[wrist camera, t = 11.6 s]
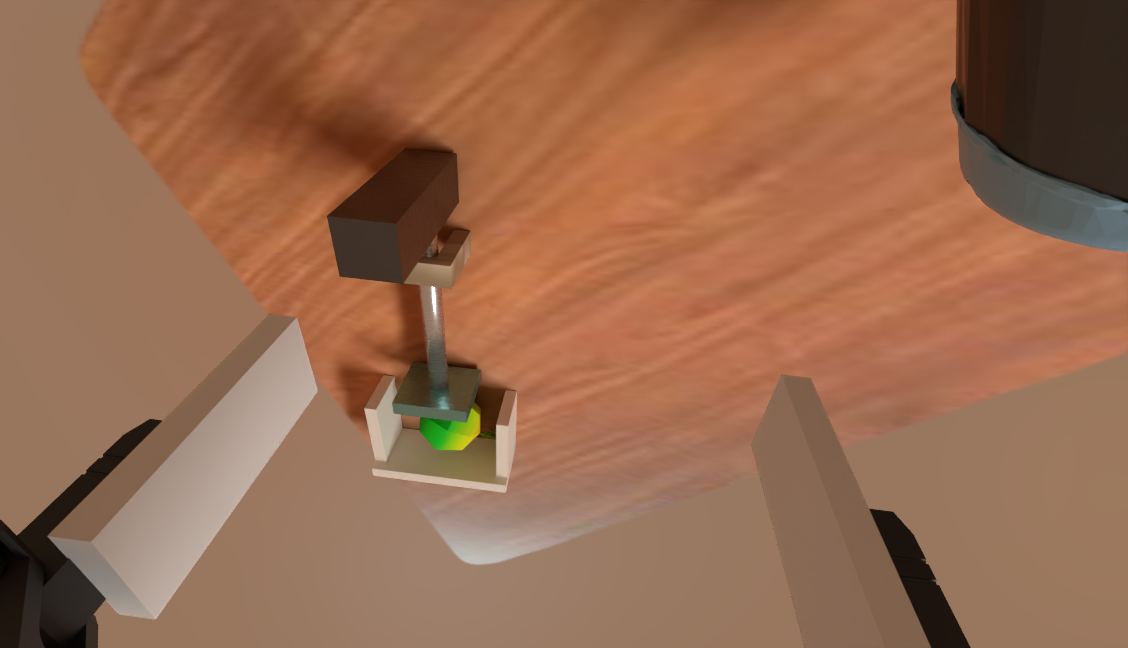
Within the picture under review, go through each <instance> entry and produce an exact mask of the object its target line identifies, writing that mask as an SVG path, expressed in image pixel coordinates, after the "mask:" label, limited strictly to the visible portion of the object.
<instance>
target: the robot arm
mask: <svg viewBox="0 0 1128 648" xmlns="http://www.w3.org/2000/svg"><path fill="white" fill-rule="evenodd" d="M951 106H952V111H953V114H954V116H955V118H956V120H957V123H958V138H959V160H960V167H961V170H962V173H963V175H964V178H965V180H966V181H967V182H968V183H969V184H970V185H971V187H972V188H973V190H974V191H975V193H976V195H977V196H978V197H979V198H980V199H981V201H982V202H983V203H984V204H985V205H987V206H988V207H989V208H991V209H992V210H994V211H995V212H997V213H998V214H1000V215H1001V216H1003V217H1004V218H1006V219H1008V220H1010V221H1012V222H1014V223H1016V224H1018V225H1020V226H1023V227H1025V228H1027V229H1030V230H1032V231H1035V232H1038V233H1040V234H1043V235H1047V236H1050V237H1053V238H1057V239H1061V240H1064V241H1068V242H1072V243H1076V244H1080V245H1085V246H1090V247H1095V248H1101V249H1107V250H1114V251H1121V252H1128V0H957V27H956V79H955V80H954V82H953V84H952V86H951ZM316 393H317V387H316V383H315V380H314V376H313V373H312V369H311V366H310V362H309V359H308V355H307V352H306V348H305V344H304V341H303V337H302V334H301V330H300V327H299V323H298V320H297V317H290V316H282V315H273V314H269V315H268V316H267V317H266V318H265V319H264V320H263V321H262V322H261V323H260V324H259V325H258V326H257V327H256V328H255V329H254V330H253V331H252V332H251V333H250V334H249V335H248V336H247V337H246V338H245V339H244V340H243V341H242V342H241V343H240V344H239V345H238V346H237V347H236V348H235V349H234V350H233V351H232V352H231V353H230V354H229V355H228V356H227V357H226V358H225V359H224V360H223V361H222V362H221V363H220V364H219V365H218V366H217V367H216V368H215V369H214V370H213V371H212V372H211V373H210V374H209V375H208V376H207V377H206V378H205V379H204V380H203V381H202V382H201V383H200V384H199V385H198V386H197V387H196V388H195V389H194V390H193V391H192V392H191V393H190V394H189V395H188V396H187V397H186V398H185V399H184V400H183V401H182V402H181V403H180V404H179V405H178V406H177V407H176V408H175V409H174V410H173V411H172V412H171V413H170V414H169V415H168V416H167V417H166V418H165V419H164V420H163V421H162V420H154V419H149V420H148V421H146V422H144V423H143V424H141V425H139V426H138V427H136V428H134V429H133V430H131V431H129V432H128V433H126V434H124V435H123V436H122V437H121V438H120V439H119V440H118V441H117V442H116V443H114V444H113V445H112V446H111V447H110V448H109V449H108V450H107V451H106V452H105V453H104V454H103V457H102V458H99V459H98V460H97V461H96V462H94V464H92V465H91V466H90V467H89V468H88V469H87V470H86V471H87V472H86V474H84V475H83V474H82V475H81V476H80V477H79V478H78V479H77V480H76V481H74V483H72V484H71V485H70V486H69V487H68V488H67V489H66V490H65V491H64V492H63V493H62V494H61V495H60V496H59V497H58V498H57V499H55V500H54V501H53V502H52V503H51V504H50V505H49V506H48V507H47V508H46V509H45V510H44V511H43V512H42V513H41V514H40V515H39V516H38V517H37V518H36V519H34V521H32V522H31V523H30V524H29V525H28V526H27V527H26V528H25V529H24V530H23V531H22V532H21V533H20V534H18V535H17V536H16V535H15V534H14V533H13V532H12V531H11V529H10V528H9V527H7V525H6V524H4V522H3V521H2V520H0V648H98V624H97V621H96V617H95V616H94V615H93V614H94V613H95V612H96V610H97V609H98V608H99V607H100V606H101V604H102V603H103V602H104V601H105V600H106V601H107V602H108V603H109V604H110V605H111V606H112V608H113V609H114V610H115V611H116V612H117V613H118V614H121V615H128V616H135V617H142V618H149V619H156V618H157V617H158V615H159V614H160V613H161V611H162V610H163V608H164V607H165V606H166V604H167V603H168V601H169V600H170V598H171V597H172V596H173V594H174V593H175V591H176V590H177V589H178V587H179V586H180V584H181V583H182V582H183V580H184V579H185V577H186V576H187V574H188V573H189V572H190V570H191V569H192V568H193V566H194V564H195V563H196V562H197V560H198V559H199V558H200V556H201V555H202V553H203V552H204V551H205V549H206V548H207V546H208V545H209V544H210V542H211V541H212V539H213V538H214V537H215V535H216V533H217V532H218V531H219V530H220V528H221V527H222V525H223V524H224V522H225V521H226V519H227V518H228V517H229V515H230V514H231V513H232V511H233V510H234V508H235V507H236V506H237V504H238V503H239V501H240V500H241V499H242V497H243V496H244V494H245V493H246V491H247V490H248V489H249V487H250V486H251V484H252V483H253V482H254V480H255V479H256V477H257V476H258V475H259V473H260V472H261V470H262V469H263V468H264V466H265V464H266V463H267V462H268V460H269V459H270V458H271V456H272V455H273V453H274V452H275V451H276V449H277V448H278V446H279V445H280V444H281V442H282V441H283V439H284V438H285V437H286V435H287V434H288V432H289V431H290V429H291V428H292V427H293V425H294V424H295V422H296V421H297V419H298V418H299V417H300V415H301V414H302V413H303V411H304V410H305V408H306V407H307V406H308V404H309V403H310V401H311V400H312V398H313V397H314V396H315V394H316ZM751 446H752V450H753V453H754V457H755V461H756V465H757V469H758V472H759V476H760V480H761V484H762V488H763V491H764V495H765V499H766V503H767V507H768V511H769V514H770V518H771V522H772V525H773V530H774V533H775V537H776V541H777V545H778V549H779V552H780V556H781V560H782V564H783V568H784V571H785V575H786V579H787V583H788V587H789V590H790V594H791V598H792V602H793V606H794V609H795V613H796V617H797V621H798V624H799V628H800V632H801V636H802V640H803V644H804V647H805V648H970V646H969V644H968V642H967V640H966V638H965V636H964V634H963V632H962V630H961V628H960V626H959V624H958V622H957V620H956V618H955V616H954V614H953V612H952V610H951V608H950V606H949V604H948V602H947V600H946V598H945V596H944V594H943V592H942V590H941V588H940V586H939V585H937V584H936V578H935V576H934V574H933V572H932V570H931V569H930V566H929V565H928V564H926V559H925V556H924V554H923V552H922V551H921V548H920V547H919V545H918V543H917V541H916V539H915V537H914V535H913V534H912V532H911V531H910V530H909V529H908V528H907V527H906V526H905V525H904V523H903V522H902V521H901V520H900V519H899V518H898V517H897V516H896V515H895V514H894V512H890V511H882V510H875V509H874V510H873V509H869V508H868V506H867V504H866V501H865V499H864V497H863V494H862V492H861V490H860V488H859V485H858V483H857V481H856V479H855V476H854V475H853V472H852V470H851V468H850V465H849V463H848V461H847V459H846V456H845V454H844V452H843V450H842V447H841V445H840V443H839V441H838V438H837V436H836V434H835V432H834V429H833V427H832V425H831V423H830V420H829V418H828V416H827V414H826V412H825V409H824V407H823V405H822V403H821V400H820V398H819V396H818V394H817V391H816V389H815V387H814V385H813V382H812V380H811V378H805V377H797V376H788V375H781V377H780V379H779V381H778V384H777V386H776V388H775V390H774V393H773V395H772V397H771V400H770V402H769V404H768V407H767V409H766V411H765V414H764V416H763V418H762V421H761V423H760V425H759V428H758V430H757V432H756V435H755V437H754V439H753V442H752V444H751Z"/></svg>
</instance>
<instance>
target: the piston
mask: <svg viewBox="0 0 1128 648" xmlns="http://www.w3.org/2000/svg"><path fill="white" fill-rule="evenodd" d="M458 203H459V195H458V174H457V154H456V153H447V152H437V151H428V150H418V149H409V148H405V149H404V150H403V151H402V152H401V153H400V154H398V155H397V156H396V157H395V158H394V159H393V160H392V161H390V162H389V163H388V164H387V165H386V166H385V167H383V168H382V169H381V170H380V171H379V172H378V173H376V174H375V175H374V176H373V177H372V178H371V179H369V180H368V181H367V182H366V183H365V184H364V185H363V186H361V187H360V188H359V189H358V190H357V191H356V192H354V193H353V194H352V195H351V196H350V197H349V198H347V199H346V200H345V201H344V202H343V203H342V204H340V205H339V206H338V207H337V208H336V209H335V210H334V211H332V212H331V213H330V214H329V215H328V216H327V218H328V223H329V228H330V232H331V237H332V242H333V247H334V251H335V256H336V261H337V265H338V270H339V275H340V277H349V278H358V279H366V280H375V281H384V282H392V283H401V284H404V282H405V281H406V279H407V278H408V276H409V275H410V273H411V272H412V271H413V269H414V268H415V266H416V265H417V263H418V262H419V260H420V259H421V257H431V258H437V256H438V254H439V252H438V239H437V234H438V232H439V231H440V229H441V228H442V226H443V225H444V224H445V222H446V221H447V219H448V218H449V216H450V215H451V213H452V212H453V210H454V209H455V207H456V206H457V204H458ZM419 288H420V297H421V307H422V316H423V325H424V335H425V344H426V353H427V363H428V364H427V363H419V362H413V364H412V365H411V367H410V369H409V371H408V373H407V375H406V377H405V379H404V381H403V383H402V385H401V386H400V388H399V390H398V392H397V394H396V396H395V398H394V400H393V402H392V407H393V413H394V414H401V415H409V416H417V417H425V418H433V419H441V420H449V421H457V422H465V423H467V420H468V417H469V414H470V411H471V408H472V405H473V403H474V400H475V397H476V394H477V391H478V388H479V385H480V382H481V370H477V369H469V368H460V367H452V366H447V355H446V342H445V329H444V316H443V303H442V290H441V288H440V287H432V286H423V285H419Z"/></svg>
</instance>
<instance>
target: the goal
mask: <svg viewBox="0 0 1128 648" xmlns="http://www.w3.org/2000/svg"><path fill="white" fill-rule="evenodd" d="M396 394H397V389H396V382H395V376H388V375H383V377H382V378H381V380H380V382H379V384H378V385H377V387H376V389H375V391H374V392H373V394H372V396H371V397H370V399H369V401H368V403H367V404H366V406H365V408H364V410H365V414H366V419H367V423H368V428H369V433H370V437H371V442H372V447H373V451H374V456H375V460H376V461H375V463H374V465H373V467H372V471H373V475H374V476H380V477H389V478H396V479H404V480H411V481H419V482H427V483H435V484H442V485H450V486H458V487H466V488H474V489H481V490H489V491H497V492H505V493H506V489H507V484H508V480H509V475H510V471H511V466H512V462H513V457H514V453H515V442H516V407H517V391H511V390H506V391H505V394H504V398H503V402H502V405H501V409H500V413H499V416H498V420H497V423H496V441H495V440H493V439H487V438H485V439H483V438H479V437H475V438H474V439H473V440H472V441H471V442H470V443H469V444H468V445H467V446H466V447H465V448H464V449H463V450H436V449H435V448H434V447H433V446H432V444H431V443H430V442H429V441H428V440H427V439H426V438H425V437H424V436H423V435H422V434H421V433H420V430H415V429H407V428H403V426H402V420H401V414H394V413H393V407H392V402H393V400H394V398H395V396H396Z"/></svg>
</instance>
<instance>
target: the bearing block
mask: <svg viewBox="0 0 1128 648" xmlns="http://www.w3.org/2000/svg"><path fill="white" fill-rule="evenodd" d="M470 253H471V234H470V231H464V230H455V229H454V231H453V232H452V234H451V235H450V237H449V239H448V240H447V242H446V243H445V245H444V246H443V248H442V250H441V251H440V253H439V254H438V256H437V258H431V257H421V259H420V260H419V262H418V263H417V265H416V266H415V268H414V269H413V271H412V272H411V273H410V275H409V276H408V278H407V279H406V281H405V282H404V283H406V284H414V285H423V286H432V287H440V288H449V289H452V288H453V286H454V284H455V282H456V280H457V278H458V276H459V274H460V272H461V270H462V269H463V267H464V265H465V263H466V261H467V259H468V257H469V255H470Z"/></svg>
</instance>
